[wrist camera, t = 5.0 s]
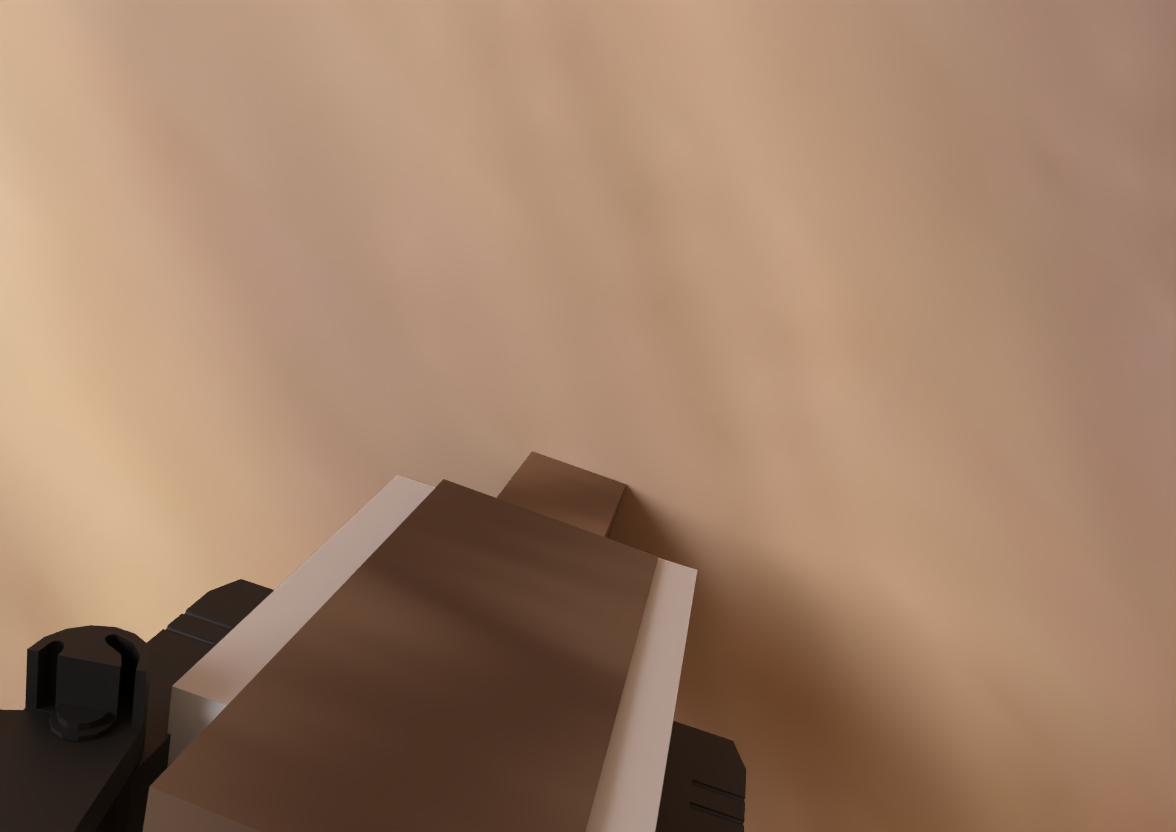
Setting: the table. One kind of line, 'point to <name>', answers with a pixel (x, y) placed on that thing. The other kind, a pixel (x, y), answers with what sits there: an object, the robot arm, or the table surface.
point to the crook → (438, 678)
